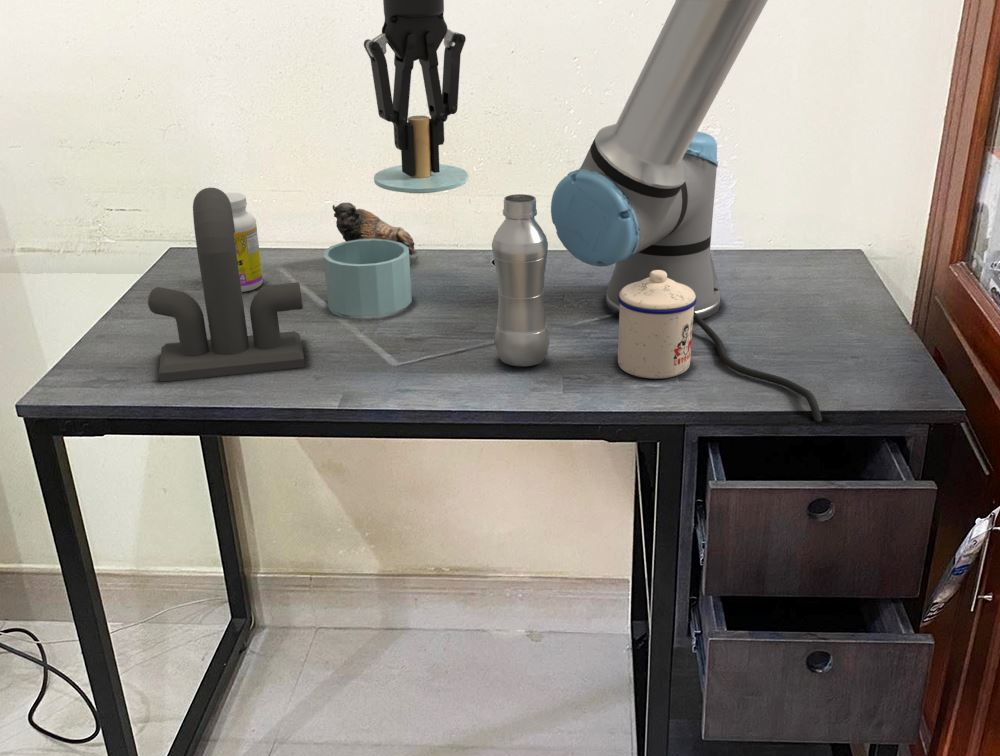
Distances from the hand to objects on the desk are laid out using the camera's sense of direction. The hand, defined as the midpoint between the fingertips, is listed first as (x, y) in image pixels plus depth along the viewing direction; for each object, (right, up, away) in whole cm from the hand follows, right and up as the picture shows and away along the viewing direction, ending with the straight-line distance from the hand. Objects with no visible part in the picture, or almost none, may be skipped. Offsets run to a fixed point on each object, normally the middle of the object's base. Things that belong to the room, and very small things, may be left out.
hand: (420, 171), depth 153 cm
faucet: (-23, -25, -8) cm, 35 cm away
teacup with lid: (+29, -27, -14) cm, 42 cm away
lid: (0, -1, +1) cm, 1 cm away
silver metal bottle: (+13, -27, -13) cm, 33 cm away
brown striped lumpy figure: (-7, -10, +17) cm, 21 cm away
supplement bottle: (-27, -13, +12) cm, 32 cm away
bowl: (-7, -17, +5) cm, 19 cm away
